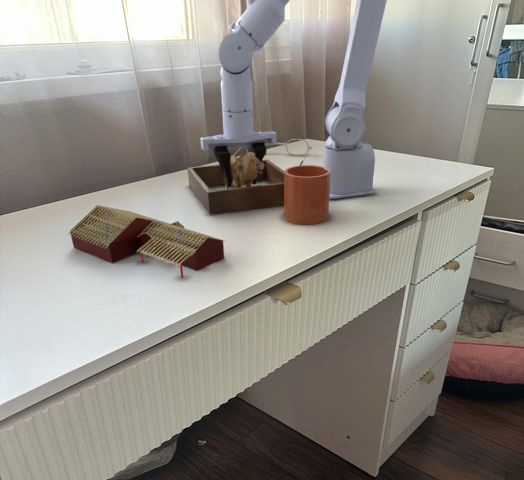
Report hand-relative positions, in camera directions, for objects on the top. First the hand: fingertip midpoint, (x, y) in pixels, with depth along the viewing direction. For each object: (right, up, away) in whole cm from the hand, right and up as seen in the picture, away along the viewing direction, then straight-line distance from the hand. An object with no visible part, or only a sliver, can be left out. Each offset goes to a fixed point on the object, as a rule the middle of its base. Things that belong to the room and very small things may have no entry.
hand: (240, 184), depth 101 cm
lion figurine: (0, -2, +1) cm, 2 cm away
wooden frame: (0, -2, +1) cm, 2 cm away
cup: (+12, -9, -11) cm, 18 cm away
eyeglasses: (+6, +12, +21) cm, 25 cm away
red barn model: (-14, -18, -22) cm, 32 cm away
